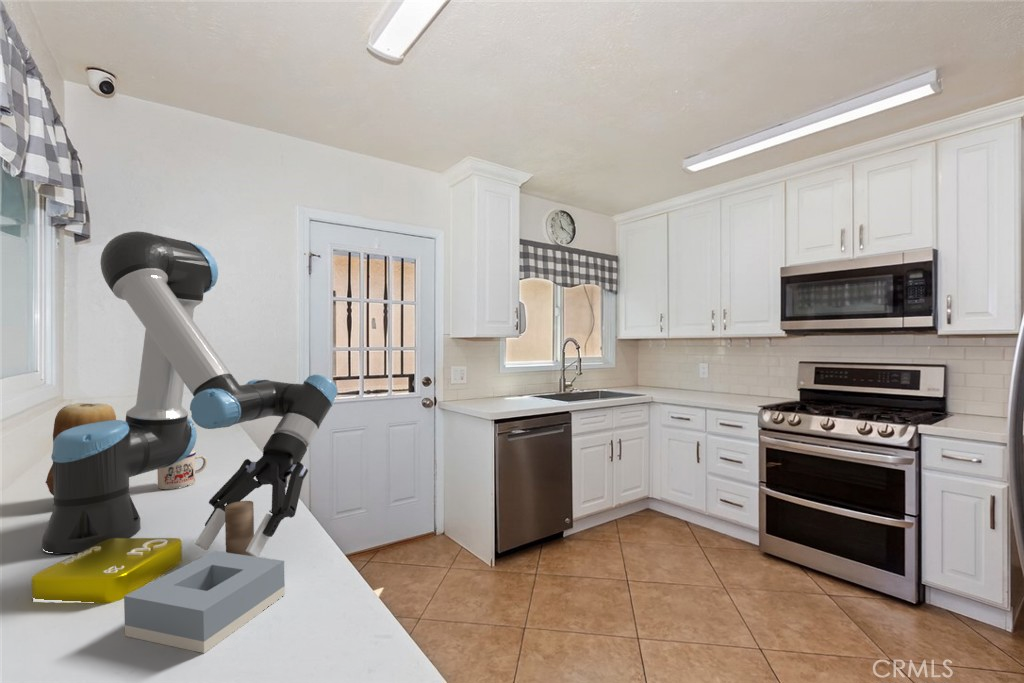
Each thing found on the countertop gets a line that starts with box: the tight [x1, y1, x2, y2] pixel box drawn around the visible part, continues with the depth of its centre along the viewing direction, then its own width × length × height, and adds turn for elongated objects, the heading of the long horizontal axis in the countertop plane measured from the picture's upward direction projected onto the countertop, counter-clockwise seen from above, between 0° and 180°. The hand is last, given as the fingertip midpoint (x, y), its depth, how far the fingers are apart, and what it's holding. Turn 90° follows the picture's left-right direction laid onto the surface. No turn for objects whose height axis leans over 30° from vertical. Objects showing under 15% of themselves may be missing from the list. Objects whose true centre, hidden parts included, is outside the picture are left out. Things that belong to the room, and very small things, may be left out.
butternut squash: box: [45, 402, 117, 497], centre depth 120 cm, size 14×13×25 cm
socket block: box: [123, 550, 286, 654], centre depth 69 cm, size 14×14×6 cm
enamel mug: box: [156, 449, 208, 490], centre depth 133 cm, size 12×9×12 cm
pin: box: [224, 500, 255, 556], centre depth 84 cm, size 4×4×11 cm
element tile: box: [30, 537, 183, 604], centre depth 80 cm, size 15×15×5 cm
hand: (226, 550), depth 81 cm, fingers open, 10 cm apart
